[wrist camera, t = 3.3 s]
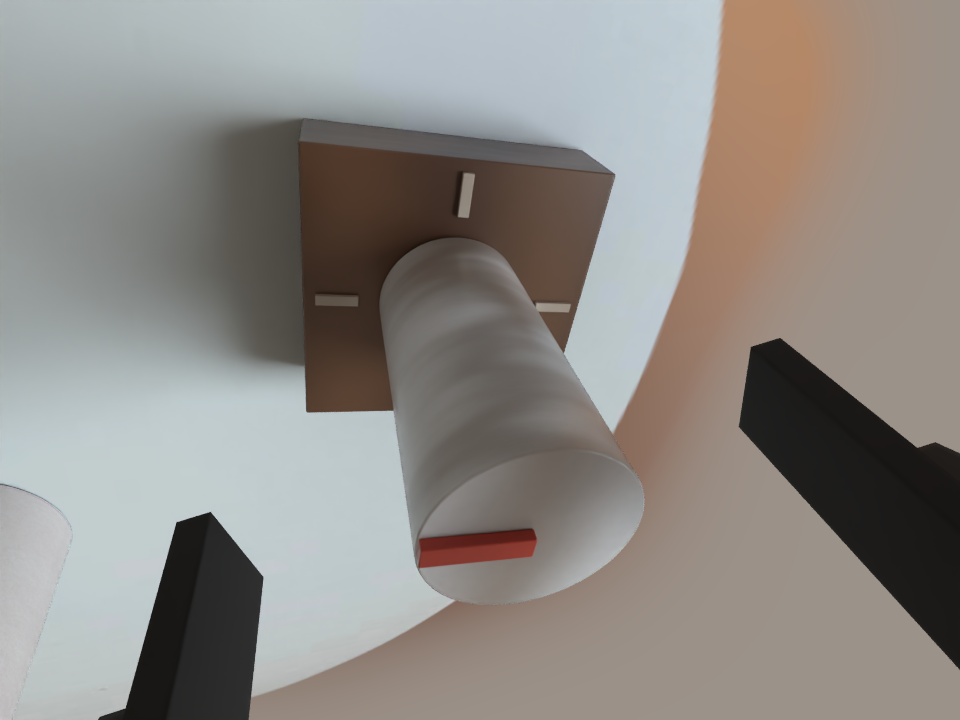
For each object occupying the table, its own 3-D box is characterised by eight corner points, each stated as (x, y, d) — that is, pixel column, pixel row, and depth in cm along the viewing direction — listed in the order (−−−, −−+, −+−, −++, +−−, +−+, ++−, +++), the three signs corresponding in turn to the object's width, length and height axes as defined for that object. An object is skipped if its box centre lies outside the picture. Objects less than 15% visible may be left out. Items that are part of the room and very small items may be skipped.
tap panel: (583, 150, 20) (618, 175, 18) (528, 367, 26) (549, 410, 23) (302, 117, 18) (297, 142, 15) (308, 367, 23) (305, 416, 21)
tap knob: (530, 241, 18) (687, 455, 10) (504, 360, 21) (612, 603, 13) (382, 232, 17) (430, 468, 9) (375, 360, 20) (406, 631, 12)
